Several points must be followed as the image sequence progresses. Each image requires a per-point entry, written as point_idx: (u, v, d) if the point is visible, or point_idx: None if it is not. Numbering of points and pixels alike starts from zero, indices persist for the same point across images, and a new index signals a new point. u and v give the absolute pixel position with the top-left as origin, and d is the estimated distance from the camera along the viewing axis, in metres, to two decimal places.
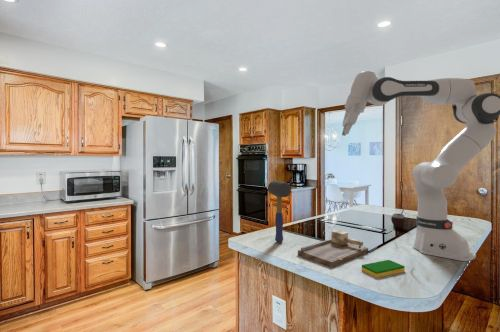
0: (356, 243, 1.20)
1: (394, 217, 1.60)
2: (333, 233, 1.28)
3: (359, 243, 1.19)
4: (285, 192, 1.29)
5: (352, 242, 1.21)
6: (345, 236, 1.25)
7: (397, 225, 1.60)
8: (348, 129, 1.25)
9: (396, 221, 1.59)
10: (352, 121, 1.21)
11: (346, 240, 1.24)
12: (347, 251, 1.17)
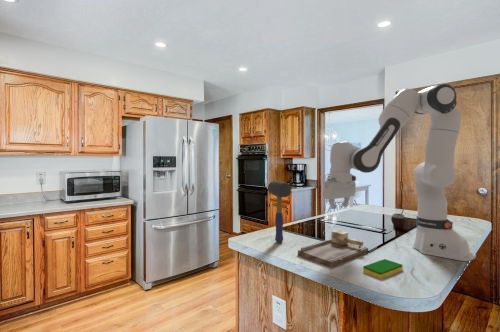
0: (356, 243, 1.20)
1: (394, 217, 1.60)
2: (333, 233, 1.28)
3: (359, 243, 1.19)
4: (285, 192, 1.29)
5: (352, 242, 1.21)
6: (345, 236, 1.25)
7: (397, 225, 1.60)
8: (332, 204, 1.23)
9: (396, 221, 1.59)
10: (326, 198, 1.20)
11: (346, 240, 1.24)
12: (347, 251, 1.17)
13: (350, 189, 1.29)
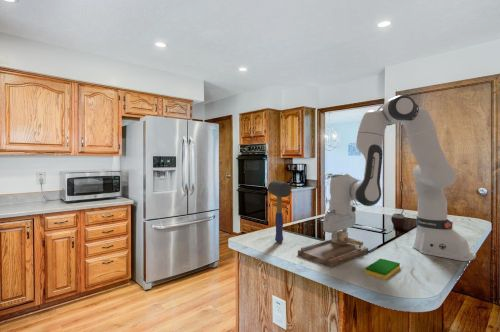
0: (356, 243, 1.20)
1: (394, 217, 1.60)
2: None
3: (359, 243, 1.19)
4: (285, 192, 1.29)
5: (352, 242, 1.21)
6: (345, 236, 1.25)
7: (397, 225, 1.60)
8: (335, 236, 1.25)
9: (396, 221, 1.59)
10: (326, 231, 1.21)
11: (346, 240, 1.24)
12: (347, 251, 1.17)
13: (351, 219, 1.30)
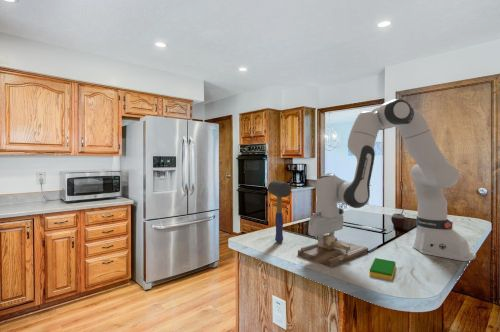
0: (343, 248, 1.14)
1: (394, 217, 1.60)
2: None
3: (346, 248, 1.13)
4: (285, 192, 1.29)
5: (339, 247, 1.15)
6: (332, 240, 1.19)
7: (397, 225, 1.60)
8: (321, 239, 1.19)
9: (396, 221, 1.59)
10: (312, 235, 1.15)
11: (333, 244, 1.18)
12: None
13: (338, 222, 1.24)
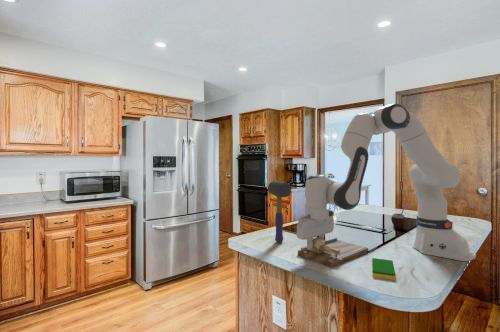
0: (332, 251, 1.09)
1: (394, 217, 1.60)
2: None
3: (335, 251, 1.08)
4: (285, 192, 1.29)
5: (328, 250, 1.11)
6: (321, 243, 1.15)
7: (397, 225, 1.60)
8: (310, 243, 1.14)
9: (396, 221, 1.59)
10: (300, 238, 1.11)
11: (322, 248, 1.13)
12: (347, 251, 1.17)
13: (328, 225, 1.19)
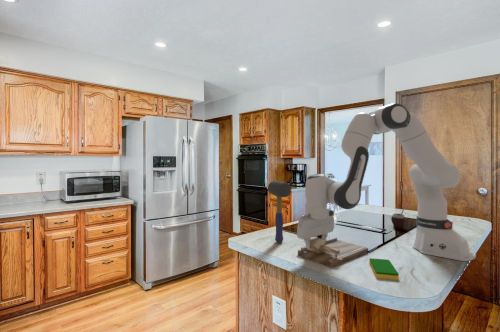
0: (332, 251, 1.09)
1: (394, 217, 1.60)
2: (309, 240, 1.17)
3: (335, 252, 1.08)
4: (285, 192, 1.29)
5: (328, 250, 1.11)
6: (321, 243, 1.15)
7: (397, 225, 1.60)
8: (307, 243, 1.13)
9: (396, 221, 1.59)
10: (300, 237, 1.10)
11: (322, 248, 1.13)
12: (347, 251, 1.17)
13: (328, 224, 1.19)
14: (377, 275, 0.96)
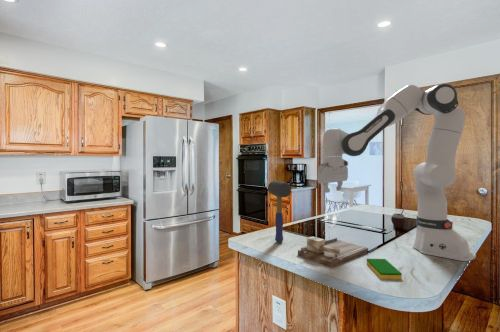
0: (332, 251, 1.09)
1: (394, 217, 1.60)
2: (309, 240, 1.17)
3: (335, 252, 1.08)
4: (285, 192, 1.29)
5: (328, 250, 1.11)
6: (321, 243, 1.15)
7: (397, 225, 1.60)
8: (326, 188, 1.30)
9: (396, 221, 1.59)
10: (320, 182, 1.27)
11: (322, 248, 1.13)
12: (347, 251, 1.17)
13: (343, 173, 1.36)
14: (381, 276, 0.95)
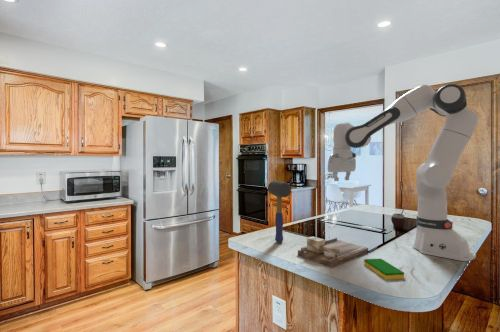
0: (332, 251, 1.09)
1: (394, 217, 1.60)
2: (309, 240, 1.17)
3: (335, 252, 1.08)
4: (285, 192, 1.29)
5: (328, 250, 1.11)
6: (321, 243, 1.15)
7: (397, 225, 1.60)
8: (335, 177, 1.43)
9: (396, 221, 1.59)
10: (330, 171, 1.40)
11: (322, 248, 1.13)
12: (347, 251, 1.17)
13: (351, 164, 1.49)
14: (386, 277, 0.94)
